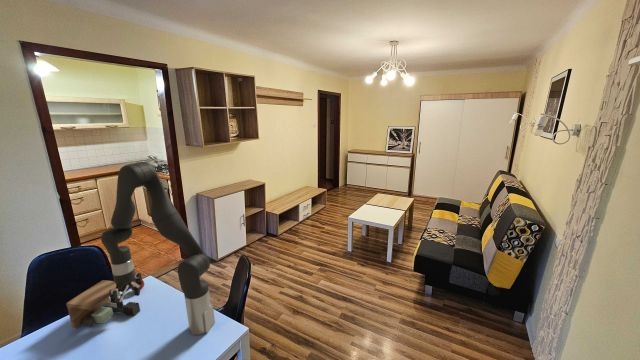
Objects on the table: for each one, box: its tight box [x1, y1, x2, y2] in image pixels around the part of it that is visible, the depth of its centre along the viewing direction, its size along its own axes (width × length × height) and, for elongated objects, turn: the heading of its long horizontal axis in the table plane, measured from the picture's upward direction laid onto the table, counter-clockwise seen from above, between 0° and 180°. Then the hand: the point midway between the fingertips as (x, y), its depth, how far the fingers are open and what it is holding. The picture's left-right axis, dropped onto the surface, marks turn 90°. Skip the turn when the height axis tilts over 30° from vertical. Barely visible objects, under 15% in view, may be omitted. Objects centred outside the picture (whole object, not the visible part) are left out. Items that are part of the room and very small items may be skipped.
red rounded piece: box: [130, 279, 145, 292], centre depth 135 cm, size 6×6×8 cm
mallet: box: [81, 301, 141, 328], centre depth 117 cm, size 18×12×4 cm
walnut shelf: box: [65, 279, 116, 330], centre depth 117 cm, size 12×16×12 cm
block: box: [92, 307, 114, 324], centre depth 117 cm, size 5×5×4 cm
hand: (129, 301), depth 119 cm, fingers open, 8 cm apart
